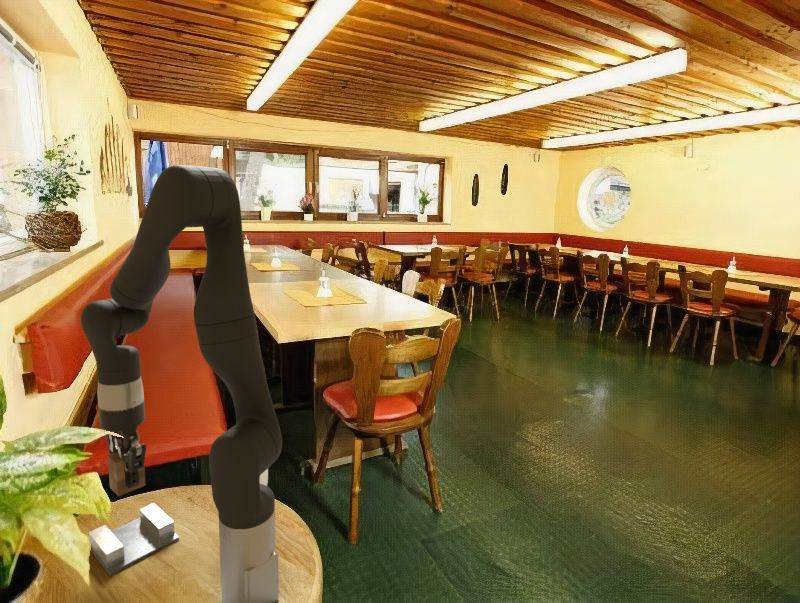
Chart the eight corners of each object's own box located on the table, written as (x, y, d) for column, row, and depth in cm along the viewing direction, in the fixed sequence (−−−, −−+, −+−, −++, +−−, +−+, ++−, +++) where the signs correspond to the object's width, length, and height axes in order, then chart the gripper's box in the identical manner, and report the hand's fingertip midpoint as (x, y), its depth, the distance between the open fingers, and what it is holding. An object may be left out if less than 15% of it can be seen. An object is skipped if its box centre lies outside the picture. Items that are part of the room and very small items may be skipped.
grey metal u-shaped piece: (178, 539, 97) (178, 524, 96) (109, 576, 87) (108, 559, 86) (152, 513, 104) (151, 499, 103) (86, 544, 94) (84, 529, 93)
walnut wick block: (145, 485, 93) (143, 453, 92) (118, 496, 89) (115, 463, 88) (136, 477, 96) (134, 446, 94) (110, 487, 92) (107, 455, 90)
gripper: (158, 406, 87) (163, 487, 91) (127, 384, 96) (132, 460, 99) (115, 419, 82) (121, 505, 85) (85, 395, 90) (92, 474, 94)
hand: (127, 480), depth 92 cm, fingers closed on walnut wick block, 4 cm apart
